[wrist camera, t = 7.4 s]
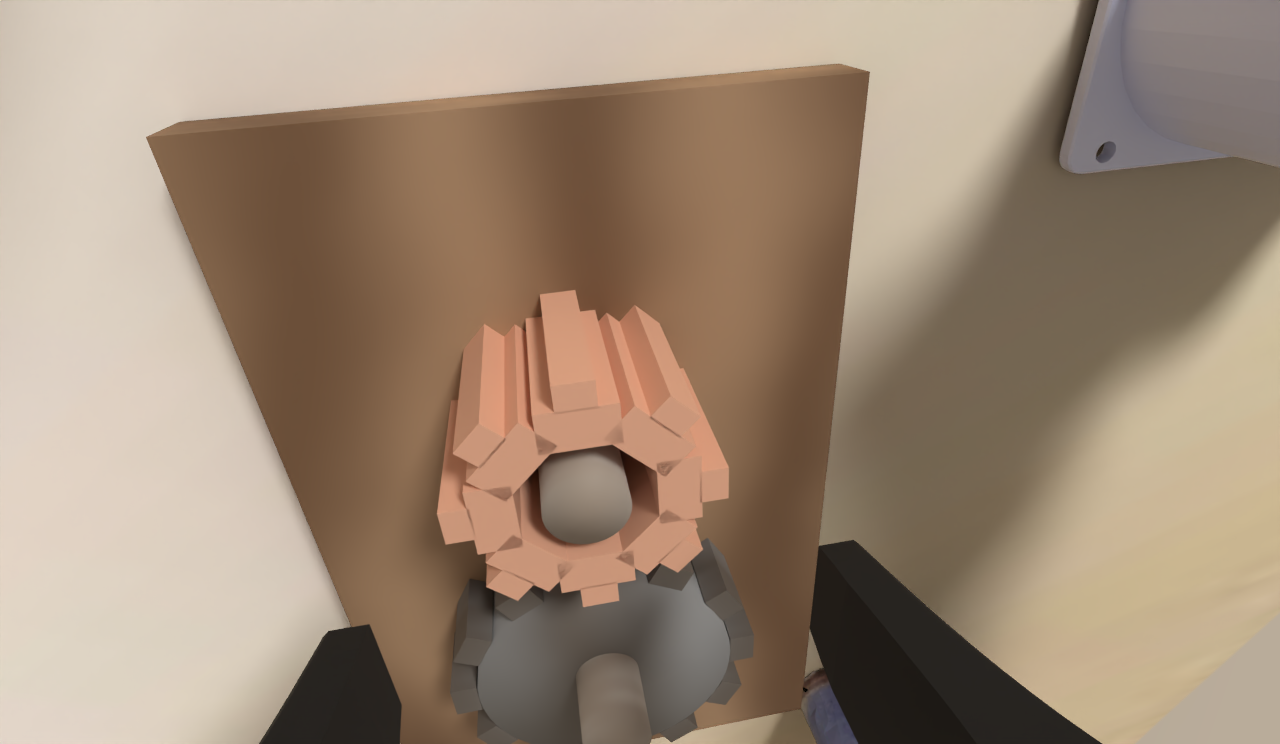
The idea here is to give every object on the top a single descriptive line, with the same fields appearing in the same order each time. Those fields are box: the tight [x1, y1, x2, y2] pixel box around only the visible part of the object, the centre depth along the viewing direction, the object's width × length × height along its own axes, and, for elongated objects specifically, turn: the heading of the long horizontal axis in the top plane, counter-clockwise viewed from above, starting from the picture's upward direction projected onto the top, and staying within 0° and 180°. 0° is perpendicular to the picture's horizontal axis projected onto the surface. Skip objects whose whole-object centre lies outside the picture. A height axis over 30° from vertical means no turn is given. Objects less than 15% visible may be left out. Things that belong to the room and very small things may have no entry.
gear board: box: [146, 64, 870, 744], centre depth 18 cm, size 14×22×6 cm, turn 4°
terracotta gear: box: [437, 290, 729, 607], centre depth 15 cm, size 6×6×4 cm
